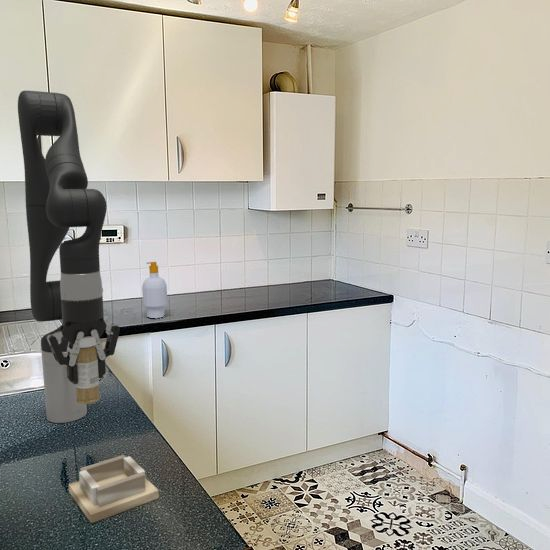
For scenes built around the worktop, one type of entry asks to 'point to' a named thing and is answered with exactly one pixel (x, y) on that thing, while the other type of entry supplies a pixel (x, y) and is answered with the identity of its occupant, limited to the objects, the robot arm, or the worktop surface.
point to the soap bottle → (154, 293)
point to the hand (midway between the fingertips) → (86, 379)
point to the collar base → (112, 488)
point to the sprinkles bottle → (87, 372)
